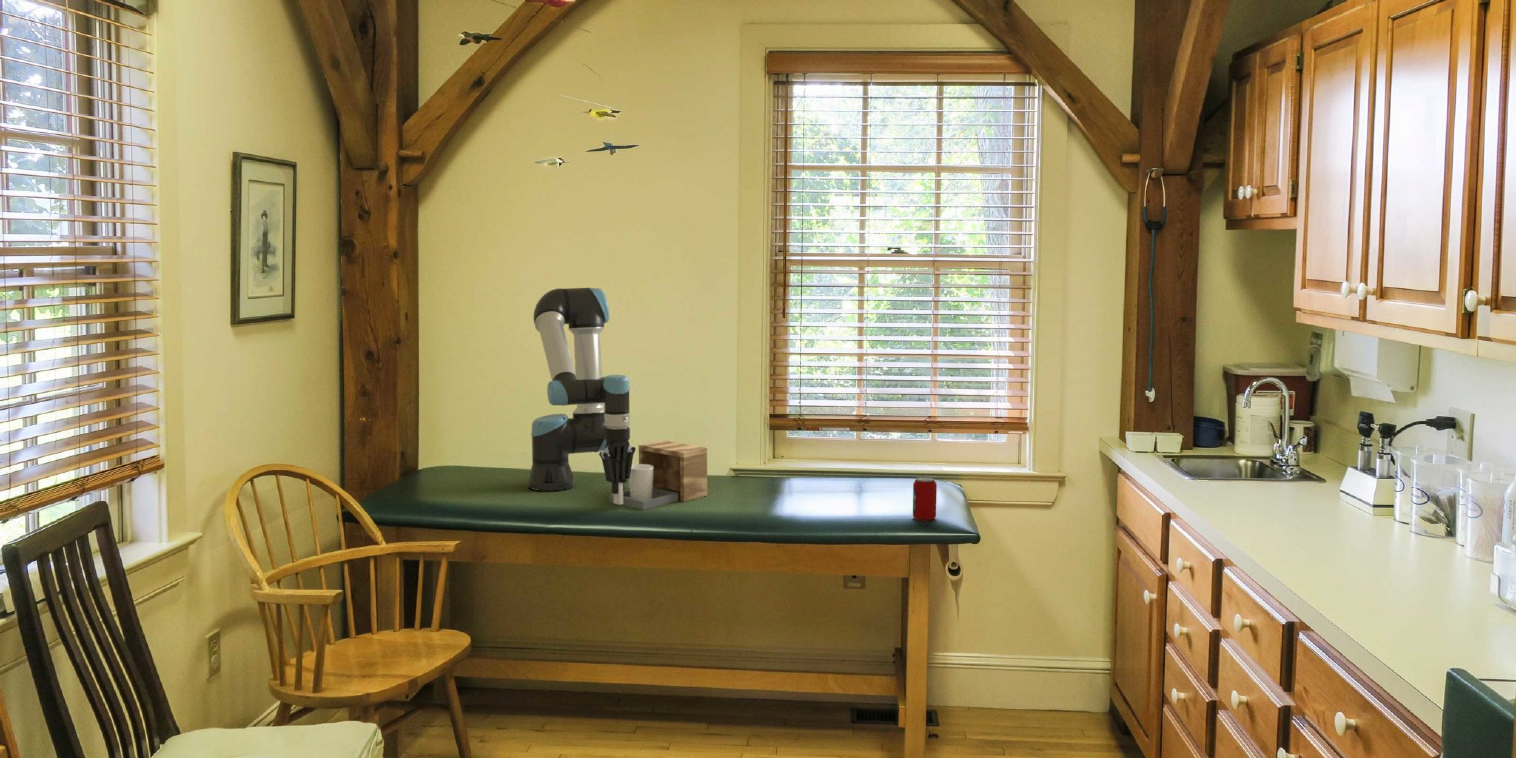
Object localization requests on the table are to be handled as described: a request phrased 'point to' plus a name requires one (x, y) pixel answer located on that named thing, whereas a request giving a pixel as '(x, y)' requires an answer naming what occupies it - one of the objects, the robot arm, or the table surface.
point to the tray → (657, 499)
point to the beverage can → (924, 498)
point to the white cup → (641, 481)
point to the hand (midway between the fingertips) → (618, 503)
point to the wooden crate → (677, 467)
